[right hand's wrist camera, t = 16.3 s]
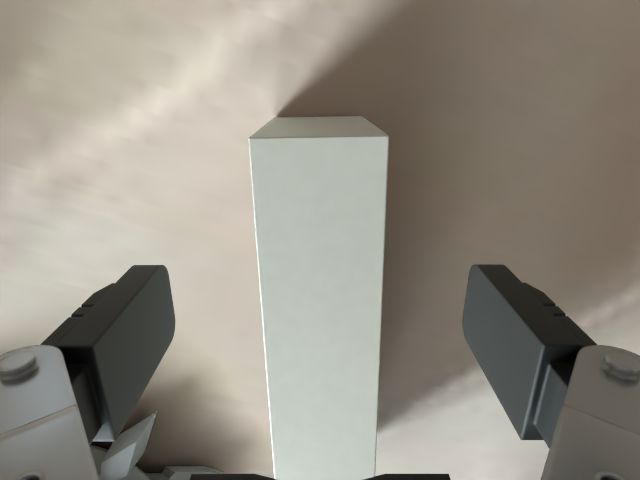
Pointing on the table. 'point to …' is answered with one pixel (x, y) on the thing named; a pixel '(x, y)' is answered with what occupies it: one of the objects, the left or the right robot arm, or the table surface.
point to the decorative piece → (137, 458)
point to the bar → (321, 289)
